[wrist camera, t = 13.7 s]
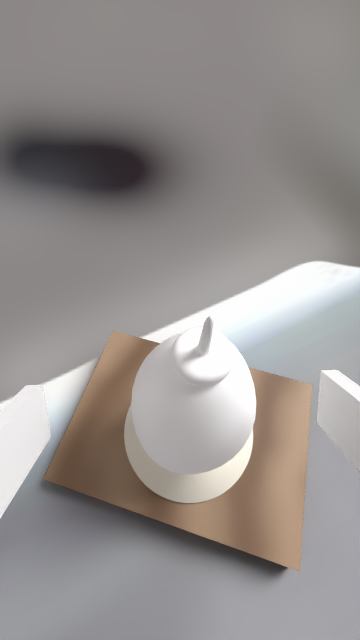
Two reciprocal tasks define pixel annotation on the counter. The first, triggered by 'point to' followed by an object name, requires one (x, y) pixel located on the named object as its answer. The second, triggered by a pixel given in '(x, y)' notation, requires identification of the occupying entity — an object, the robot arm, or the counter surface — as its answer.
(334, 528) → the counter surface
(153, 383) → the white pear with stem
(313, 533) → the counter surface
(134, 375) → the walnut board
